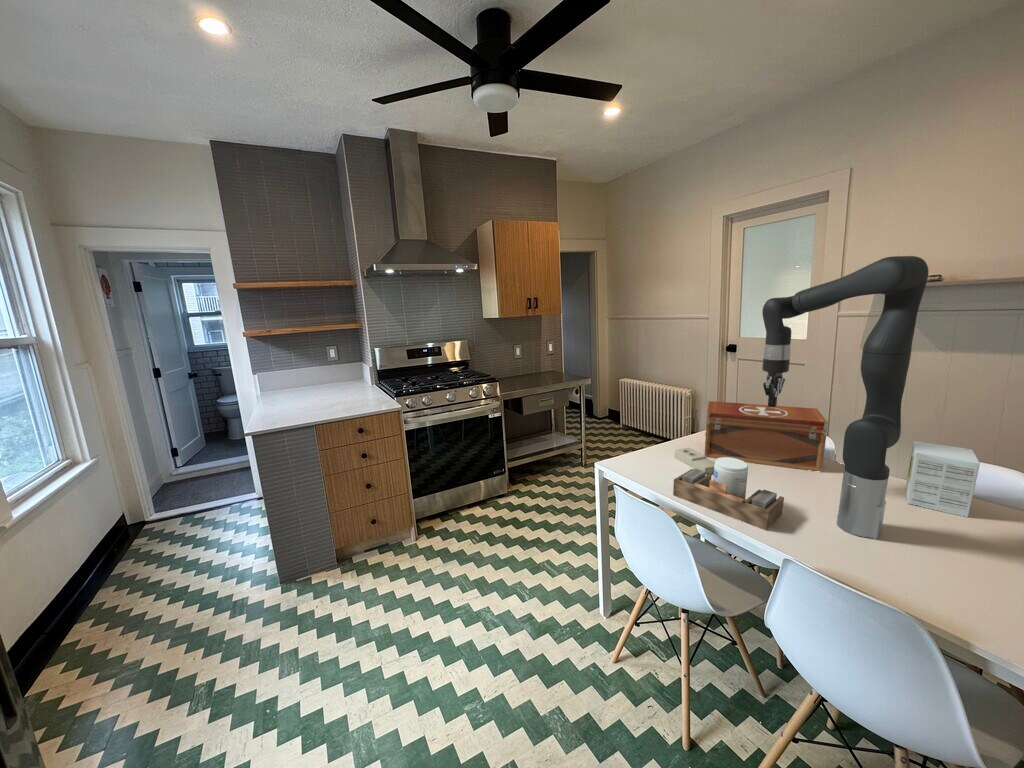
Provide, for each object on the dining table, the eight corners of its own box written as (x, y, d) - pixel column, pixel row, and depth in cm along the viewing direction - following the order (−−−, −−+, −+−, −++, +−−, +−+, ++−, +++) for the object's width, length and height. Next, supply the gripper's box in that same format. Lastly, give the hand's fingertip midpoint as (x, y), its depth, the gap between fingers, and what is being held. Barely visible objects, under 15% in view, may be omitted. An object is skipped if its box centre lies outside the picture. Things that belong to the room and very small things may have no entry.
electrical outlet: (705, 465, 149) (674, 449, 166) (704, 475, 150) (674, 458, 167) (720, 462, 151) (688, 447, 168) (719, 472, 151) (688, 455, 168)
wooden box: (823, 473, 146) (829, 422, 142) (703, 457, 166) (706, 412, 162) (812, 454, 164) (818, 408, 160) (705, 441, 183) (708, 401, 179)
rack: (782, 514, 120) (785, 485, 118) (766, 530, 113) (769, 499, 111) (691, 483, 143) (692, 459, 141) (673, 495, 135) (674, 469, 133)
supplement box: (904, 488, 132) (912, 440, 129) (962, 500, 123) (973, 448, 120) (905, 504, 123) (915, 452, 119) (969, 518, 114) (981, 462, 110)
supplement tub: (705, 500, 131) (707, 460, 128) (725, 494, 134) (727, 454, 131) (731, 514, 122) (734, 471, 119) (751, 507, 125) (755, 464, 122)
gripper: (782, 360, 124) (777, 412, 128) (796, 355, 132) (791, 404, 135) (756, 359, 130) (752, 408, 133) (771, 354, 138) (767, 401, 141)
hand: (772, 406), depth 134 cm, fingers closed
